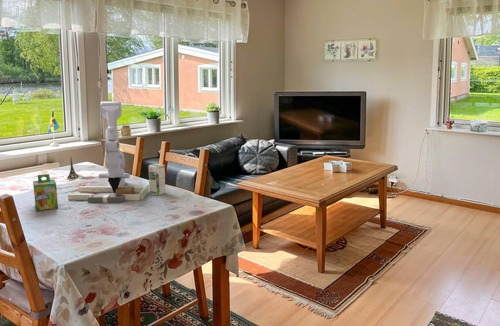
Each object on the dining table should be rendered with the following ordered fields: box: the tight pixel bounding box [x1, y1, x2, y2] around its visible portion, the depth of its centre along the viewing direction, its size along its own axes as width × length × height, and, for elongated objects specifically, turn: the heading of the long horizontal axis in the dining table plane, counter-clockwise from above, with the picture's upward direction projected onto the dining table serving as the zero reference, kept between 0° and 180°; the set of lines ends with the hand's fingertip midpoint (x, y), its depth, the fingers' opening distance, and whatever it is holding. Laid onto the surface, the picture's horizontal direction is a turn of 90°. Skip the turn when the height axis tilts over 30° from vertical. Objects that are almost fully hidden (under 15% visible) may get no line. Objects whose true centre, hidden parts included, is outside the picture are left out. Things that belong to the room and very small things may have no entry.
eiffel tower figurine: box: [60, 156, 88, 180], centre depth 247 cm, size 15×10×13 cm
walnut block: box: [115, 185, 136, 197], centre depth 215 cm, size 7×7×4 cm
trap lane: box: [67, 184, 150, 204], centre depth 213 cm, size 18×35×4 cm, turn 89°
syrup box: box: [148, 163, 166, 196], centre depth 217 cm, size 6×6×14 cm
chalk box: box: [32, 173, 59, 212], centre depth 197 cm, size 9×9×15 cm
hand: (115, 192), depth 215 cm, fingers closed
